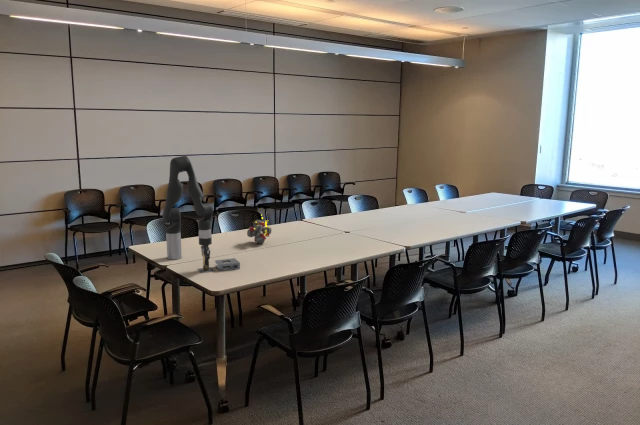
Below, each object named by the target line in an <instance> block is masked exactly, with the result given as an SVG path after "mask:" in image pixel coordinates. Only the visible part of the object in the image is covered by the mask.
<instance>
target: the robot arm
mask: <svg viewBox="0 0 640 425" xmlns="http://www.w3.org/2000/svg"><path fill="white" fill-rule="evenodd" d="M184 172H186V173H187V177H188V181H187V191H188V194H189V196H190V197H191V199H192V202H193V209H194V212H195V214H196V215H197V216H199V217H202V218H201V219H199V220H198V245H199V246H200V250H201V251H200V252H201V257H202V258H203V255H204V259H205V265H209V266H210V259H211V249H210V247H209V246H210V245H212V244H213V242H212V226H211V225H212V224H211V222H212V219H213V213H214V207H213V205H212V204H211V203H210V202H205V203H203V202H202V201H204V199H205V195H204V193H203V191H202V188H200V187H201V186H200V184H199V183H198V179H197V177H196V173H195V170H194V168H193V164H192V162H191V159H190V158H189V157H188V156H186V155H181V156H177V157H173V158H172V159H171V160H170V163H169V180H168V184H167V190H166V191H167V192H166V198H165V203H164V207H163V211H162V220H163V222H164V223H165V224H172V223H173V224H172V225H170V226H168V227H167V228H166V229H165V237H166V255H167V258H166V259H168V260H179V259H181V258H182V257H183V256H182V255H183V254H182V236H181V235H182V234H181V232H182V231H181V224H182V223H181V221H182V219H181V217H182V213H181V210H180V208H178V207H174V206H175V205H176V204H177V203H178V202H179V201H180V200H181V199H182V196H183V192H184V186H183V183H182V182H181V181H180V180H179V174H180V173H184ZM207 256H208V257H207Z"/></svg>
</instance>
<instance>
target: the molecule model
mask: <svg viewBox="0 0 640 425" xmlns="http://www.w3.org/2000/svg"><path fill="white" fill-rule="evenodd" d="M260 216H263V214H261V215H260ZM262 219H264V217H261V219H255V220H254V221H253V222H252V223H253V225H252V226H249V229H247V231H246V233H247V234H246V235H247V237H248V238H254V239H253V240H254V242H256V243H257V244H262V245H263V244H264V243H265V240H267V237H268V238H269V237H270V235H271V233H272V229H273V230H274V228H272V227H271V226H268V221H262ZM246 224H247V222H246Z"/></svg>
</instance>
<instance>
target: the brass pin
mask: <svg viewBox="0 0 640 425" xmlns="http://www.w3.org/2000/svg"><path fill="white" fill-rule="evenodd" d="M207 257H208V256H207ZM209 267H210V264H209V265H205V259H204V255H203V257H202V268H203V271H209Z"/></svg>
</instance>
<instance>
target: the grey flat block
mask: <svg viewBox="0 0 640 425" xmlns="http://www.w3.org/2000/svg"><path fill="white" fill-rule="evenodd" d="M214 263H215V265H214V267H215V268H216V269H217V270H218V271H219V272H222V271H223V272H225V271H233V270H240V269H241V263H240V261H239V260H237V259H236V258H226V259H225V258H224V259H217V260H214Z"/></svg>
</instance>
